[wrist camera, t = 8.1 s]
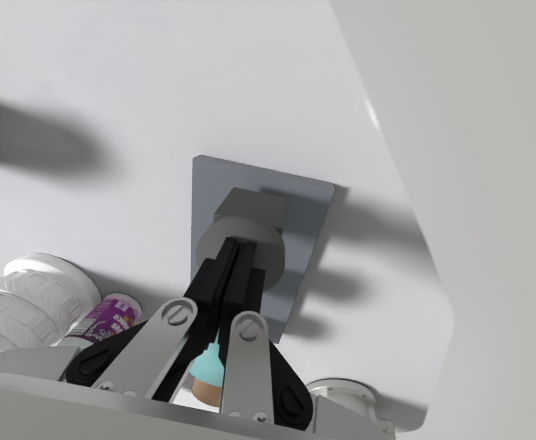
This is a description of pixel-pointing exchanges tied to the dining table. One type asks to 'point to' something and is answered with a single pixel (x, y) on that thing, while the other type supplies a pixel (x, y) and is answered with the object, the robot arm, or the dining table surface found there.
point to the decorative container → (42, 300)
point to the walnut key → (207, 393)
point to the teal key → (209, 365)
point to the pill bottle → (104, 321)
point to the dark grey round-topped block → (249, 230)
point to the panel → (295, 222)
